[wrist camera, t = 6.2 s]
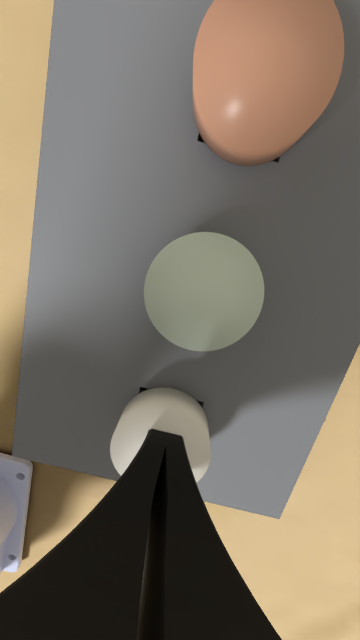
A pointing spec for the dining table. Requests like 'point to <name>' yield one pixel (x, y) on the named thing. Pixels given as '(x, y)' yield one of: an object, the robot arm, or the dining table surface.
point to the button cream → (162, 427)
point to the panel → (168, 225)
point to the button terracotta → (264, 74)
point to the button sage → (204, 291)
